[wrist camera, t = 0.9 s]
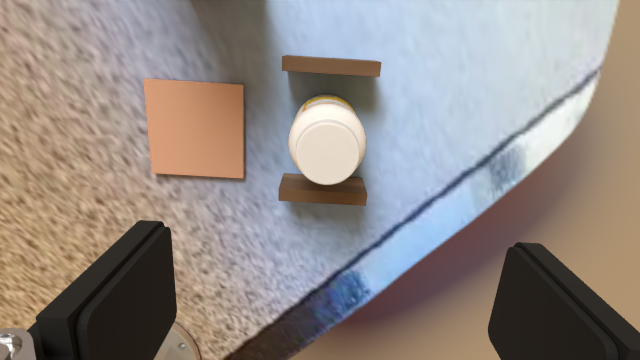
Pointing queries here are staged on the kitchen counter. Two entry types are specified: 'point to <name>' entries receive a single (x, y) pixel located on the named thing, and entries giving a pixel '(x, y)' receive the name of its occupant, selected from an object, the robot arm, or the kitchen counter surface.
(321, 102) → the supplement bottle
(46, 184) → the kitchen counter surface
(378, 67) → the slot rack
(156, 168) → the terracotta tile
